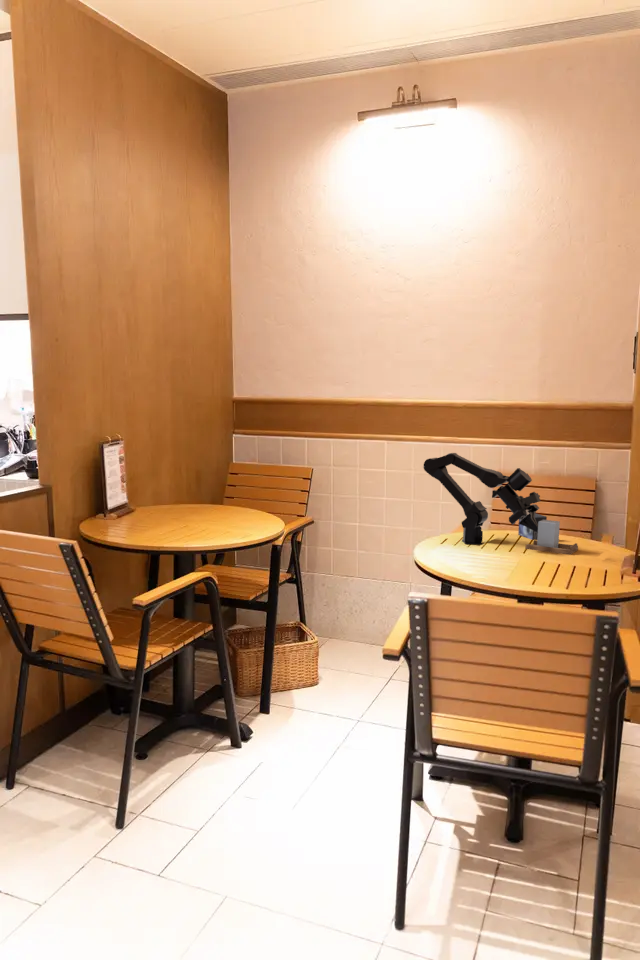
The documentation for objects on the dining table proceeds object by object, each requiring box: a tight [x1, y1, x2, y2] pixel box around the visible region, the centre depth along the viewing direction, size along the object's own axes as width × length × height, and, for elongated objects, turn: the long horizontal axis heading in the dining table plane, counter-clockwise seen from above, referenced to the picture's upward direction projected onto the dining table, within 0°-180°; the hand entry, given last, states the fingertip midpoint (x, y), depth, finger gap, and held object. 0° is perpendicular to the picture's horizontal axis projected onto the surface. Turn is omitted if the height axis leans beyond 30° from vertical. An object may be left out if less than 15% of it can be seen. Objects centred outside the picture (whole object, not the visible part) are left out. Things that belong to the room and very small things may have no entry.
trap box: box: [524, 540, 579, 556], centre depth 281 cm, size 16×10×4 cm, turn 57°
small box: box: [518, 513, 548, 541], centre depth 304 cm, size 11×6×10 cm, turn 17°
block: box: [536, 519, 561, 548], centre depth 281 cm, size 6×6×10 cm
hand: (539, 531), depth 283 cm, fingers closed, pressing on block
